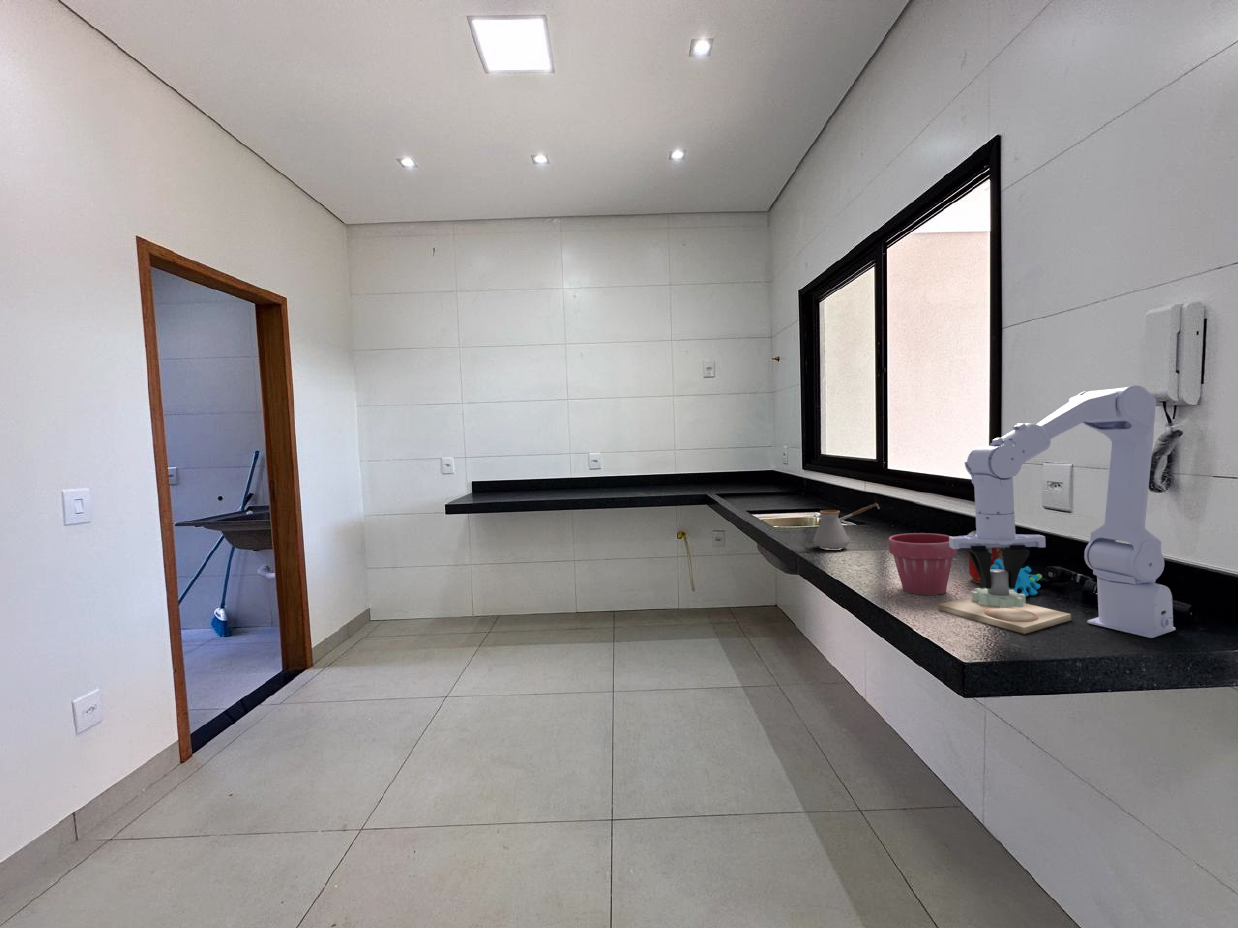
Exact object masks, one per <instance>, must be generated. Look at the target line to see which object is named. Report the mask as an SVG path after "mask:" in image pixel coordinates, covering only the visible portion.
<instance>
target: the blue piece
mask: <svg viewBox="0 0 1238 928" xmlns="http://www.w3.org/2000/svg"><path fill="white" fill-rule="evenodd" d="M1002 561H1003V560H1002ZM1002 561H1001V560H1000V559H996V560H995V561H994V563H995V564H993V565H992V566H991V568H990V569H998V570H1000V569H1001V570H1004V564H1003V565H1002ZM997 565H998V566H999V568H1000V569H999V568H998V566H997ZM1030 572H1032V569H1031V567H1029V566H1028V565H1027V566H1024V567H1023V568H1022V567H1021V569H1020V572H1019V574H1018V578H1017V581H1016V585H1015V589H1011V588H1009V589H1010V590H1015V592H1016V593H1018V589H1019V590H1021V592H1020V593H1019V594H1024V595H1025V598H1027V597H1028V596H1029V595H1030V596H1036V595H1037V594H1038V591H1037V590H1039V589H1040V588H1041V584H1040V583H1037V582H1038V581H1039V580H1041V579H1042V578H1043V575H1042V574H1040V573H1037V574H1030ZM1027 590H1028V591H1027Z"/></svg>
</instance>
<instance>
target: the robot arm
mask: <svg viewBox="0 0 1238 928" xmlns="http://www.w3.org/2000/svg"><path fill="white" fill-rule="evenodd" d="M1156 408H1157V399H1156V398H1155V396H1153V394H1151V393H1150V392H1149V391H1148V390H1147V389H1146V388H1145V387H1143V386H1141V385H1135V384H1134V385H1129V386H1125V387H1118V388H1108V389H1100V390H1099V389H1098V390H1084V391H1082V392H1080V393H1078V394H1077V395H1075V396H1071V397H1070V398H1069V399H1068V402H1067V403H1065V404H1064V405H1062V406H1061V407H1059V408H1058V409H1057V410H1055V411H1054V412H1052V413H1051V414H1049V415H1047V416H1046V417H1045V418H1043V419H1042V420H1040V421H1039V422H1037V423H1031V422H1029V423H1028V422H1027V423H1016V424H1015V425H1014V426H1012V429H1013V430H1011V431H1010V432H1008V433H1006V434H1005V435H1003V436H1002V437H996V438H994V439H991V441H992V442H991V443H990V444H989V445H982V446H978V447H975V448H973V450H971V452H970V453H969V454H968V457H967V460H966V461H964V467H965V469H966V471H967V473H968V474H969V475H970V476H971V484H972V485H973V487H974V488H973V489H974V507H975V508H974V509H975V511H974V512H975V528H976V530H975V531H976V533H977V535H968V534H967V535H958V536H956V535H955V536H951V537H949V547H951V548H953V549H956V550H960V549H965V551H966V553H967V555H968V554H969V556H970V557H971V559H972V561H973V563H974V565H975V567H976V569H977V572H978V574H979V577H980V581H981V583H980V585H981V587H983V589H985V588H986V589H991V576H990V565H991V558H992V554H991V553H990V552H988V549H986V548H991V547H1001V552H1002V556H1003V566H1004V570H1005V571H1008V572H1009V589H1015V585H1016V581H1017V578H1018V574H1019V572H1020V569H1021V568H1022V567H1023V565H1024V563H1025V562H1026V561H1027V559H1028V558H1029V556H1030V549H1027V548H1031V547H1033V548H1034V547H1035V548H1036V547H1037V548H1046V547H1047V546H1046V536H1044V535H1041V534H1021V533H1020V534H1017V533H1016V522H1015V521H1016V519H1015V516H1016V515H1015V499H1014V498H1015V497H1014V477H1016V476H1017V475H1018V474H1019V473H1020V471H1021V469H1022V466H1023V465H1024V464H1025V463H1026V462H1028V461H1030V460H1031V459H1033V458H1035V457H1036V456H1038V455H1040V454H1041V453H1043V452H1045V451H1046V450H1048V449H1049V448H1050V446H1051V440H1052V439H1054V438H1056V437H1058V436H1060V435H1062V434H1063V433H1065V432H1068V431H1070V430H1071V429H1074V428H1075V427H1077V426H1079V425H1081V424H1082V425H1085V426H1087V427H1089V428H1090V429H1093V430H1094V431H1097V432H1099V433H1100V434H1102V435H1104V436H1106V437H1107V438H1108V439H1109V440H1110V441H1111V450H1110V461H1109V470H1108V481H1107V491H1106V492H1107V493H1106V503H1105V513H1104V514H1105V515H1104V524H1102V525H1100V526H1099V527H1097V528H1096V529H1094V530H1092V531H1091V532H1090V537H1089V541H1088V544H1087V545H1086V547H1085V549H1084V555H1083V558H1084V561H1085V564H1086V565H1087V566H1088V568H1089V569H1091V570H1092V574H1093V575H1094V576H1096V579H1097V603H1098V604H1097V607H1098V617H1094V618H1091V619H1088V620H1087V623H1088V624H1091V625H1095V626H1098V627H1103V628H1108V629H1112V630H1115V631H1118V632H1119V631H1120V632H1123V633H1128V634H1131V635H1137V636H1141V637H1145V638H1149V639H1153V638H1156V637H1159V636H1163V635H1165V634H1167V633H1171V632H1173V631H1176V627H1174V614H1173V613H1174V610H1173V594H1172V592H1171V589H1170V588H1169V587H1168V586H1166V585H1163V584H1160V583H1156V580H1157V579H1158V578H1159V577H1160V576H1161V575H1162V573H1163V572H1164V568H1165V559H1164V556H1163V553H1162V540H1160V539H1159V538H1158V537H1157V536H1155V535H1154V534H1153V533H1151V532H1150V531H1149V530H1147V528H1146V519H1147V511H1148V510H1147V508H1148V498H1149V496H1148V495H1149V488H1150V477H1151V465H1152V454H1153V445H1154V429H1155V419H1156V418H1155V417H1156ZM1125 542H1126V543H1125ZM1026 547H1027V548H1026Z"/></svg>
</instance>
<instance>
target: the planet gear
mask: <svg viewBox="0 0 1238 928" xmlns="http://www.w3.org/2000/svg"><path fill="white" fill-rule="evenodd" d="M990 576H991V589H985V588H980V587H976V589H975V588H974V589H975V591H973V590H971V591H972V599H973V601H979V602H981V604H982V605H986V606H987V605H992V606H999V607H1001V608H1007V607H1020V608H1021V607H1023V604H1027V603H1026V600H1027V599H1026V597H1025V595H1024V594H1020V593H1018V592H1017V593H1016V592H1015V590H1010V589H1011V588H1009V572H1008V571H1005V570H998V569H990Z"/></svg>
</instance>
